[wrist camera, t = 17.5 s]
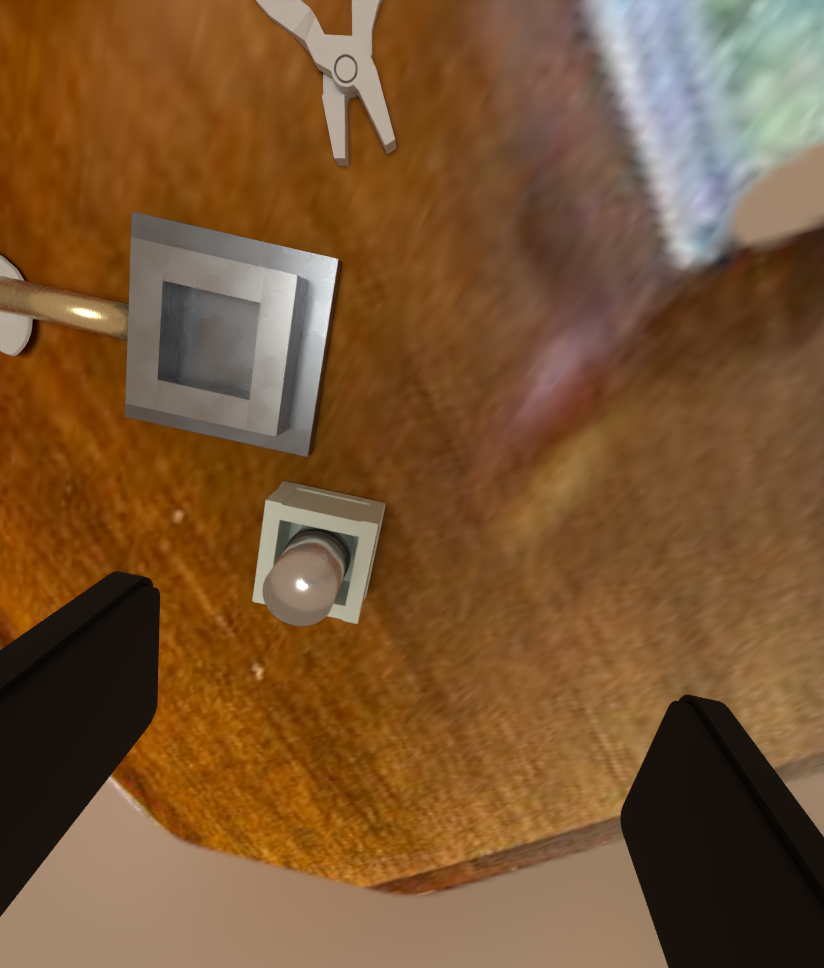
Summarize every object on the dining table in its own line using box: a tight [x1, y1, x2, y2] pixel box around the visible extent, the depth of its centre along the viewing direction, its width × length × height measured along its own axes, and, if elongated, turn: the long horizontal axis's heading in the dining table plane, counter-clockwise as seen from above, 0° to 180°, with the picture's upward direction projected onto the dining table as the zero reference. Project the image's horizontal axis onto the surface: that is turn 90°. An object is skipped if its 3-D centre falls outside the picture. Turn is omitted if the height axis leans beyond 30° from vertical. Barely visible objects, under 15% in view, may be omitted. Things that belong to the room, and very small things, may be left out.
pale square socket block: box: [252, 481, 386, 624], centre depth 32 cm, size 7×7×4 cm
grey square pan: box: [0, 212, 342, 457], centre depth 28 cm, size 18×12×4 cm, turn 78°
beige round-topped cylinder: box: [262, 525, 354, 626], centre depth 29 cm, size 4×4×7 cm
